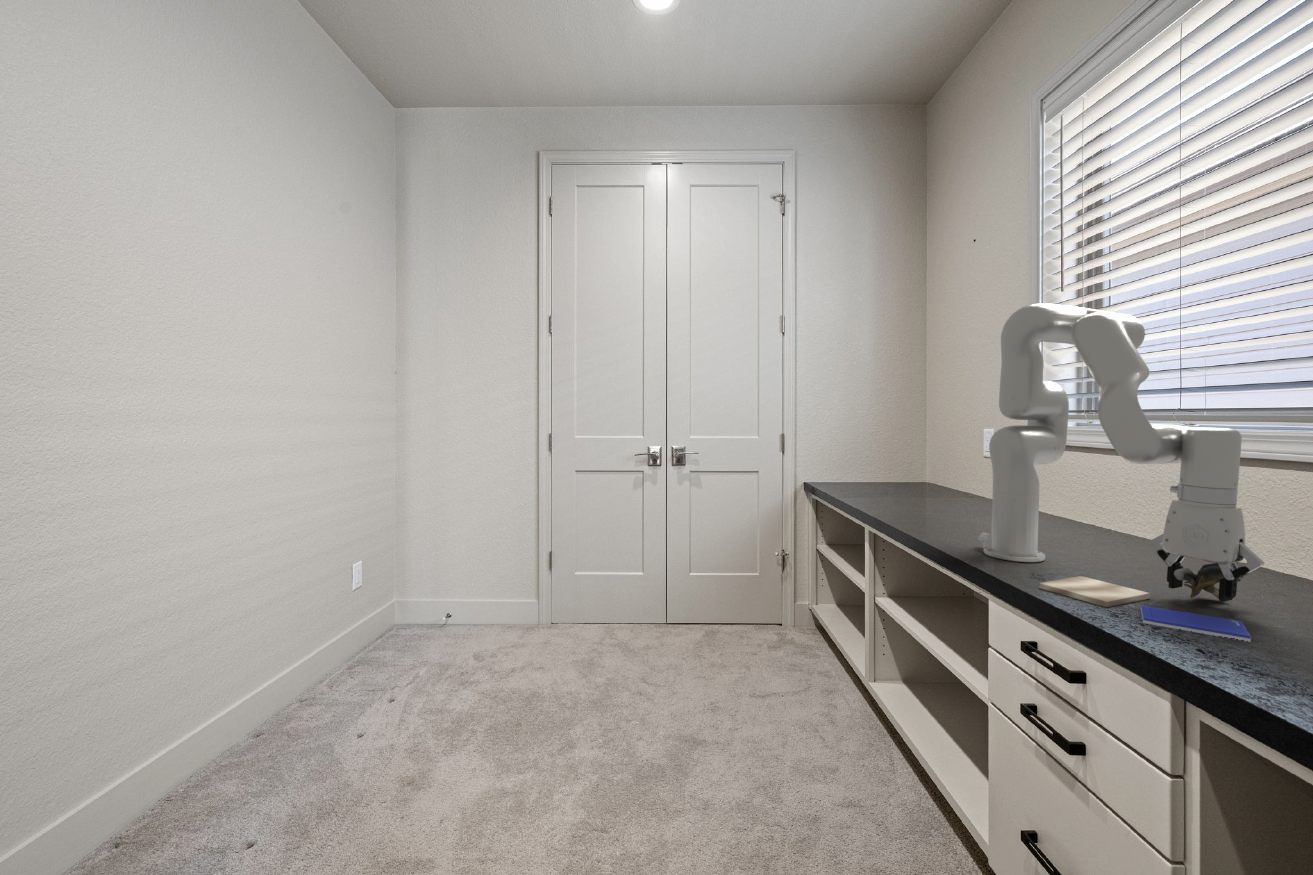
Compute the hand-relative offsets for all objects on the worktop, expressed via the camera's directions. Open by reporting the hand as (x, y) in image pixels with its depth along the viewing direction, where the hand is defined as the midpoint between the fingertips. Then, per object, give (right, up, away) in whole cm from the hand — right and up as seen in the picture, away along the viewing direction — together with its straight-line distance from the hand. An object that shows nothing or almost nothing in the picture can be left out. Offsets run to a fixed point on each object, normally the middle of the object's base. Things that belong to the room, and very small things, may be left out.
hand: (1199, 592), depth 103 cm
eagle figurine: (+2, -1, +1) cm, 2 cm away
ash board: (-15, -2, +6) cm, 16 cm away
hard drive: (-11, -3, -10) cm, 15 cm away
